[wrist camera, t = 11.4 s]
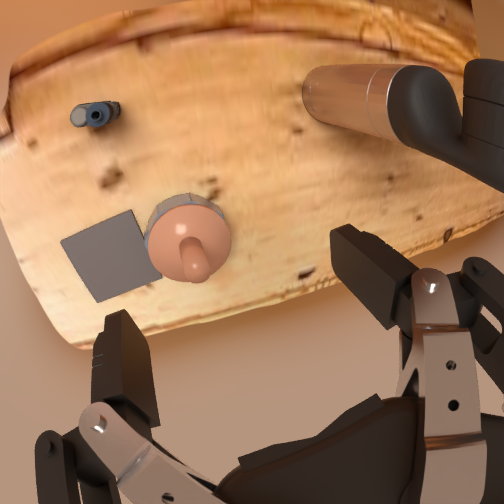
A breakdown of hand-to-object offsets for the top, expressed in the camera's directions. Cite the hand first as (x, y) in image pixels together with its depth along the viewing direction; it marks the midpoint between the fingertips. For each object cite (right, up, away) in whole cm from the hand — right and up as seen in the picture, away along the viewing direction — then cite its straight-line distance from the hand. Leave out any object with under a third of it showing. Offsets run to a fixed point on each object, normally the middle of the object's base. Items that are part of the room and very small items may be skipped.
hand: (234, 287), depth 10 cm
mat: (-20, 0, +29) cm, 35 cm away
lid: (-8, +2, +28) cm, 29 cm away
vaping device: (-18, +19, +19) cm, 32 cm away
